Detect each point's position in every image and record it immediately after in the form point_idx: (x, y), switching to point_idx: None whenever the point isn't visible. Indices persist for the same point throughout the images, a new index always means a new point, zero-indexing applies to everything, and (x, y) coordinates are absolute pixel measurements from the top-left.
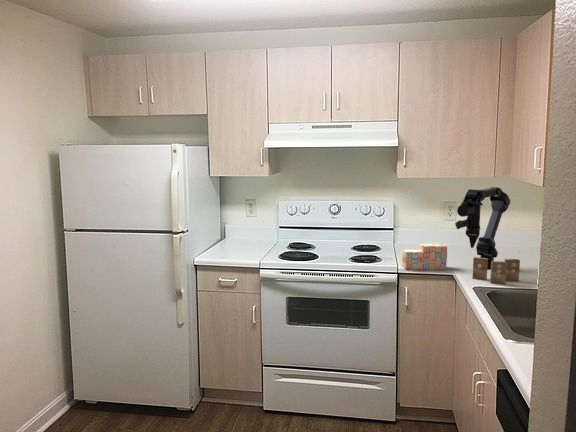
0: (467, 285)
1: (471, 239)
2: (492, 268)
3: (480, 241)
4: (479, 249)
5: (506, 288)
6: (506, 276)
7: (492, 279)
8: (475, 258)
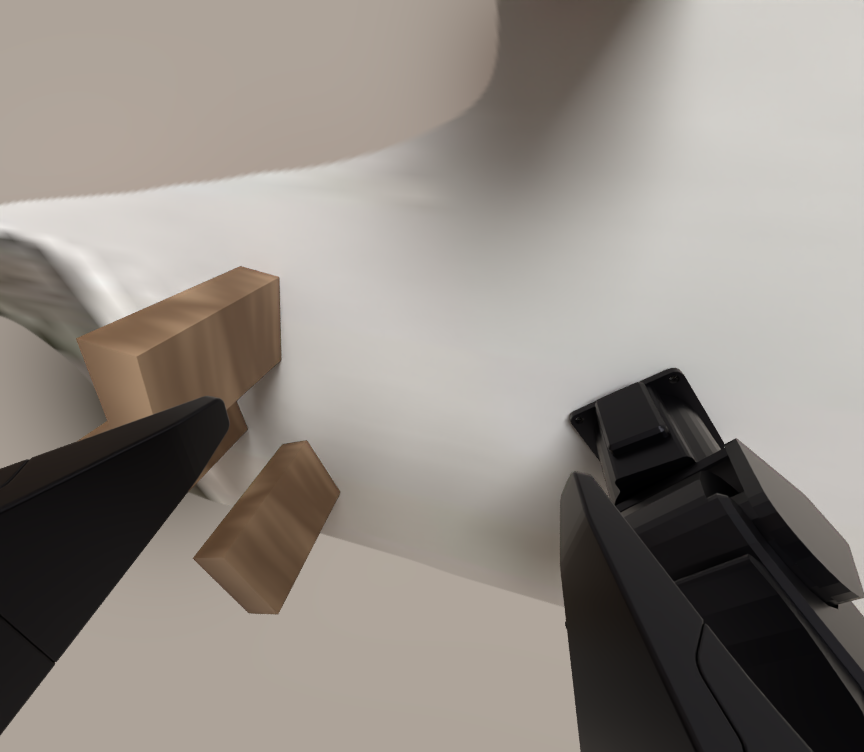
0: (43, 207)
1: None
2: (104, 426)
3: (754, 648)
4: (668, 506)
5: None
6: (266, 466)
7: None
8: (85, 356)
